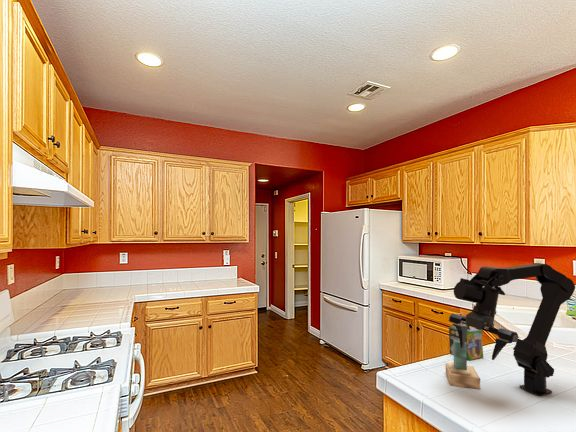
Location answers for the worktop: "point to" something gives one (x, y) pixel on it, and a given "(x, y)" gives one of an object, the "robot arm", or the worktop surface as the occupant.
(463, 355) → the tall teal pillar
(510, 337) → the robot arm
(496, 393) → the worktop surface
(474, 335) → the chalk box
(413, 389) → the worktop surface
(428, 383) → the worktop surface
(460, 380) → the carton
